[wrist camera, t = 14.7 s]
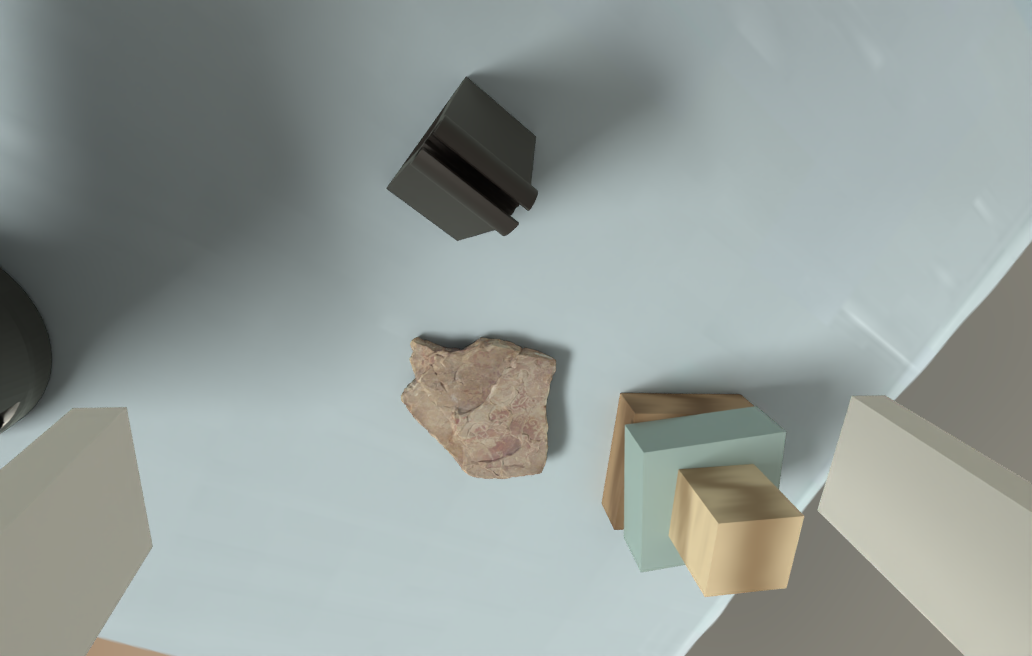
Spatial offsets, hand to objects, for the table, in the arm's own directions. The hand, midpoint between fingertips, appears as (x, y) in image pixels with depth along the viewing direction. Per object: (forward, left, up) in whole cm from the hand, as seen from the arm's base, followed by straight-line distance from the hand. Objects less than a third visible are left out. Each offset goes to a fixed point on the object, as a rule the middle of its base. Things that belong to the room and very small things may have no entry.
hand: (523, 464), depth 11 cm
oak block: (+20, -20, -24) cm, 37 cm away
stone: (+3, -15, -32) cm, 36 cm away
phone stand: (+1, +3, -32) cm, 32 cm away
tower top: (+20, -20, -28) cm, 40 cm away
